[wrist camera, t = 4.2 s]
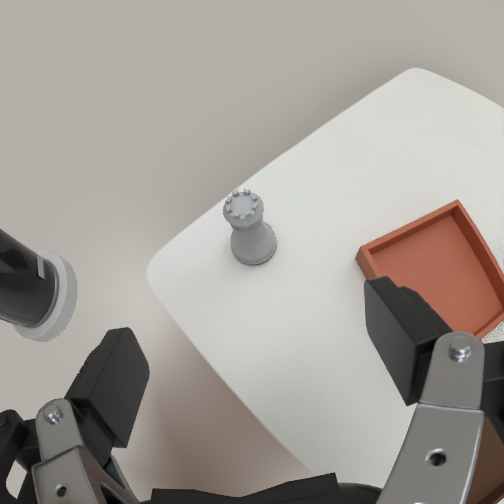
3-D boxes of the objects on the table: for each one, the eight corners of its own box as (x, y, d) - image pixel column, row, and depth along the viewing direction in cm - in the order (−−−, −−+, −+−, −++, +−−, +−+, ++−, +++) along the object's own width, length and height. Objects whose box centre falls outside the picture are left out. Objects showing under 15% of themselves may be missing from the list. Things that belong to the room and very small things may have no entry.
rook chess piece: (282, 259, 30) (277, 218, 23) (237, 271, 30) (218, 234, 23) (270, 220, 32) (262, 172, 25) (228, 232, 32) (208, 187, 25)
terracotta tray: (415, 379, 24) (426, 378, 22) (355, 257, 29) (359, 246, 27) (505, 312, 24) (519, 305, 22) (449, 211, 30) (457, 198, 27)
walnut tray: (448, 524, 16) (458, 532, 14) (415, 432, 22) (426, 436, 19) (536, 450, 17) (549, 452, 14) (510, 359, 22) (524, 356, 20)
